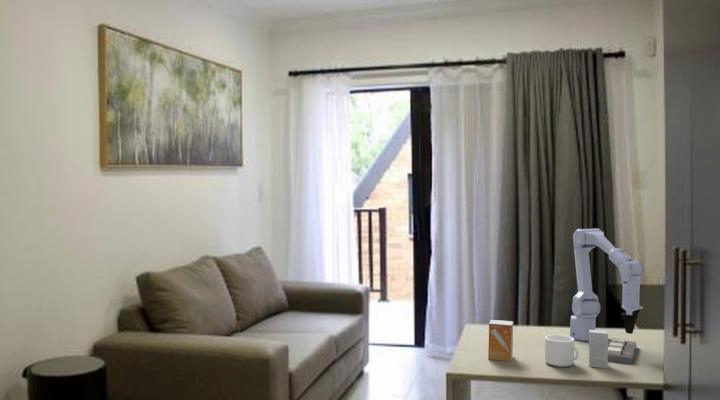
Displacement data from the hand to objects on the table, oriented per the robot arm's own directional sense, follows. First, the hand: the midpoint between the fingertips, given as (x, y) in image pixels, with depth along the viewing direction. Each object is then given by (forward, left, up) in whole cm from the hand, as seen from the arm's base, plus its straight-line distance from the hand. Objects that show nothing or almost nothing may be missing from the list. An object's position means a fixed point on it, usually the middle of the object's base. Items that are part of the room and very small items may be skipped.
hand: (630, 330), depth 232 cm
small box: (-41, -26, -9) cm, 49 cm away
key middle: (-5, 0, -9) cm, 10 cm away
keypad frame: (-5, 0, -9) cm, 10 cm away
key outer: (-5, -7, -8) cm, 11 cm away
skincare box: (-9, -19, -9) cm, 23 cm away
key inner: (-5, +7, -9) cm, 12 cm away
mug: (-20, -23, -9) cm, 31 cm away
